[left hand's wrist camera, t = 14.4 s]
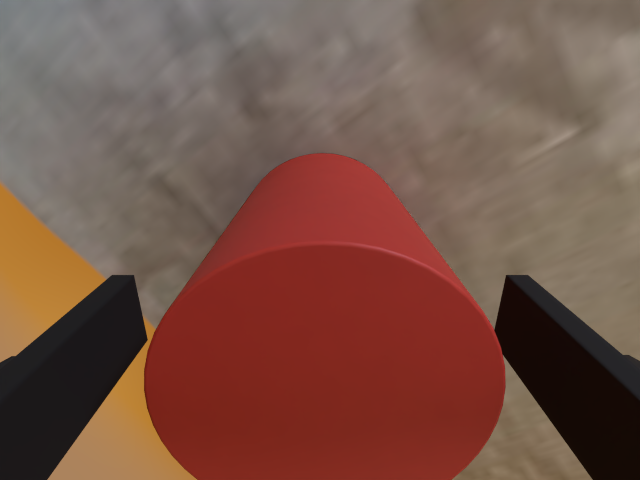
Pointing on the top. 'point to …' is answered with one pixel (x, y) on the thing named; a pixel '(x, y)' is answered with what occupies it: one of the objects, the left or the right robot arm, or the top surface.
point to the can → (324, 342)
